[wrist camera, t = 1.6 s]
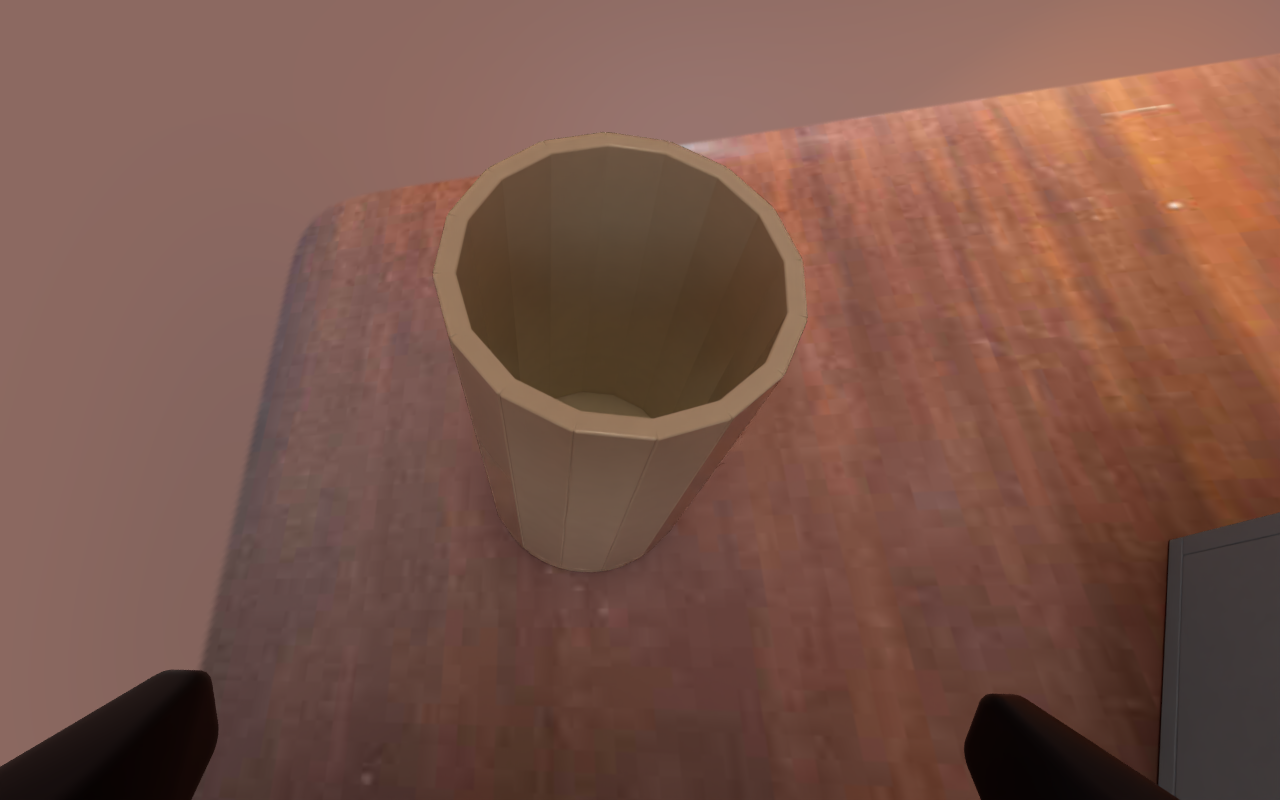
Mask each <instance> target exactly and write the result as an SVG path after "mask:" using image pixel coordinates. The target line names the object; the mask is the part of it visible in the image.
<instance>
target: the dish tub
mask: <svg viewBox="0 0 1280 800" xmlns="http://www.w3.org/2000/svg"><path fill="white" fill-rule="evenodd" d="M1158 786H1160V787H1161V788H1163V789H1164V790H1166V791H1168V792H1169V793H1171V794H1172V795H1174V796H1175V797H1177V798H1178V799H1180V800H1280V513H1276V514H1272V515H1268V516H1264V517H1260V518H1256V519H1252V520H1248V521H1244V522H1240V523H1236V524H1232V525H1228V526H1224V527H1220V528H1216V529H1212V530H1208V531H1204V532H1200V533H1196V534H1192V535H1188V536H1185V537H1181V538H1177V539H1173V540H1170V542H1169V563H1168V585H1167V607H1166V629H1165V650H1164V672H1163V694H1162V716H1161V737H1160V759H1159V781H1158Z"/></svg>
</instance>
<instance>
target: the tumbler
mask: <svg viewBox="0 0 1280 800" xmlns="http://www.w3.org/2000/svg"><path fill="white" fill-rule="evenodd" d="M433 280H434V283H435V287H436V291H437V295H438V299H439V303H440V306H441V310H442V314H443V318H444V322H445V326H446V329H447V333H448V337H449V341H450V344H451V348H452V351H453V355H454V359H455V362H456V366H457V369H458V373H459V377H460V380H461V384H462V387H463V391H464V394H465V398H466V402H467V405H468V409H469V412H470V416H471V420H472V423H473V427H474V430H475V434H476V437H477V441H478V445H479V448H480V452H481V455H482V459H483V463H484V466H485V470H486V473H487V477H488V481H489V484H490V488H491V491H492V495H493V498H494V502H495V506H496V509H497V513H498V516H499V518H500V519H501V520H502V522H503V523H504V525H505V527H506V528H507V530H508V531H509V533H510V534H511V536H512V537H513V538H514V539H515V540H516V541H517V542H518V543H519V544H520V546H522V547H523V548H524V549H525V550H526V551H528V552H529V553H530V554H531V555H533V556H535V557H536V558H538V559H540V560H541V561H543V562H545V563H548V564H550V565H552V566H555V567H558V568H562V569H565V570H570V571H577V572H600V571H608V570H611V569H615V568H619V567H622V566H624V565H627V564H629V563H631V562H633V561H635V560H637V559H639V558H640V557H642V556H644V555H645V554H646V553H647V552H649V551H650V550H651V549H653V548H654V547H655V546H656V545H657V544H658V543H659V542H660V540H661V539H662V538H663V537H664V536H666V535H667V534H668V533H669V532H670V531H671V529H672V528H673V526H674V525H675V524H676V522H677V521H678V520H679V518H680V517H681V516H682V514H683V513H684V511H685V510H686V509H687V507H688V506H689V505H690V503H691V502H692V501H693V499H694V498H695V496H696V495H697V494H698V492H699V491H700V490H701V488H702V487H703V486H704V484H705V483H706V481H707V480H708V479H709V477H710V476H711V475H712V473H713V472H714V470H715V469H716V468H717V466H718V465H719V464H720V462H721V461H722V460H723V458H724V457H725V455H726V454H727V453H728V451H729V450H730V449H731V447H732V446H733V445H734V443H735V442H736V440H737V439H738V438H739V436H740V435H741V434H742V432H743V431H744V430H745V428H746V427H747V425H748V424H749V423H750V421H751V420H752V419H753V417H754V416H755V415H756V413H757V412H758V410H759V409H760V408H761V406H762V405H763V404H764V402H765V401H766V400H767V398H768V397H769V395H770V394H771V393H772V391H773V390H774V389H775V387H776V386H777V385H778V383H779V382H780V380H781V379H782V378H783V376H784V375H785V373H786V371H787V369H788V366H789V364H790V361H791V359H792V357H793V354H794V352H795V349H796V347H797V345H798V342H799V340H800V337H801V335H802V333H803V330H804V328H805V325H806V323H807V318H808V315H807V303H806V291H805V279H804V267H803V261H802V258H801V256H800V254H799V252H798V251H797V249H796V247H795V245H794V243H793V241H792V240H791V238H790V236H789V234H788V232H787V231H786V229H785V227H784V225H783V223H782V221H781V220H780V218H779V216H778V214H777V212H776V211H775V209H773V207H772V206H771V205H770V204H769V203H768V202H767V201H765V200H764V199H763V198H762V197H761V196H760V195H759V194H757V193H756V192H755V191H754V190H753V189H752V188H751V187H749V186H748V185H747V184H746V183H745V182H744V181H743V180H741V179H740V178H739V177H738V176H737V175H736V174H735V173H734V172H732V171H731V170H730V169H728V168H727V167H726V166H723V165H721V164H719V163H717V162H715V161H712V160H710V159H708V158H706V157H704V156H701V155H699V154H697V153H695V152H692V151H690V150H688V149H686V148H684V147H681V146H679V145H677V144H675V143H672V142H668V141H665V140H658V139H651V138H644V137H637V136H631V135H624V134H617V133H610V132H606V133H605V132H601V133H593V134H586V135H580V136H572V137H565V138H558V139H551V140H545V141H543V142H539V143H537V144H535V145H533V146H531V147H529V148H527V149H525V150H523V151H521V152H519V153H517V154H515V155H513V156H511V157H509V158H507V159H505V160H503V161H501V162H499V163H497V164H495V165H493V166H491V167H489V168H488V169H487V170H485V171H484V172H483V173H482V175H481V176H480V177H479V178H478V179H477V180H476V181H475V183H474V184H473V185H472V186H471V187H470V188H469V190H468V191H467V192H466V193H465V194H464V195H463V196H462V198H461V199H460V200H459V201H458V202H457V203H456V205H455V206H454V207H453V208H452V209H451V210H450V212H449V213H448V215H447V217H446V221H445V225H444V229H443V233H442V237H441V241H440V245H439V249H438V253H437V257H436V261H435V265H434V269H433Z"/></svg>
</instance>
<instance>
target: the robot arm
mask: <svg viewBox="0 0 1280 800" xmlns="http://www.w3.org/2000/svg"><path fill="white" fill-rule="evenodd" d="M217 739H218V720H217V713H216V706H215V699H214V692H213V685H212V681H211V677H210V676H209V675H208V673H206V672H204V671H199V670H167V671H163V672H161V673H159V674H157V675H155V676H153V677H151V678H150V679H148V680H146V681H145V682H143V683H141V684H139V685H138V686H136V687H134V688H133V689H131V690H130V691H128V692H126V693H124V694H123V695H121V696H119V697H118V698H116V699H114V700H112V701H111V702H109V703H107V704H106V705H104V706H102V707H101V708H99V709H97V710H96V711H94V712H92V713H91V714H89V715H87V716H85V717H84V718H82V719H80V720H79V721H77V722H75V723H74V724H72V725H70V726H68V727H67V728H65V729H64V730H62V731H60V732H58V733H57V734H55V735H53V736H52V737H50V738H48V739H47V740H45V741H43V742H41V743H40V744H38V745H36V746H35V747H33V748H31V749H30V750H28V751H26V752H24V753H23V754H21V755H19V756H18V757H16V758H15V759H13V760H11V761H9V762H8V763H6V764H4V765H3V766H1V767H0V800H191V799H192V797H193V795H194V793H195V791H196V789H197V787H198V784H199V782H200V780H201V778H202V776H203V774H204V772H205V769H206V767H207V765H208V763H209V761H210V759H211V757H212V754H213V752H214V749H215V746H216V743H217ZM964 753H965V759H966V763H967V766H968V769H969V771H970V774H971V776H972V779H973V781H974V784H975V786H976V789H977V791H978V793H979V796H980V798H981V800H1180V799H1178V798H1177V797H1175V796H1174V795H1172V794H1171V793H1169V792H1168V791H1166V790H1164V789H1163V788H1161V787H1160V786H1158V785H1157V784H1155V783H1154V782H1152V781H1151V780H1149V779H1148V778H1146V777H1145V776H1143V775H1142V774H1140V773H1138V772H1137V771H1135V770H1134V769H1132V768H1131V767H1129V766H1128V765H1126V764H1125V763H1123V762H1122V761H1120V760H1119V759H1117V758H1116V757H1114V756H1112V755H1111V754H1109V753H1108V752H1106V751H1105V750H1103V749H1102V748H1100V747H1099V746H1097V745H1096V744H1094V743H1093V742H1091V741H1090V740H1088V739H1087V738H1085V737H1083V736H1082V735H1080V734H1079V733H1077V732H1076V731H1074V730H1073V729H1071V728H1070V727H1068V726H1067V725H1065V724H1064V723H1062V722H1061V721H1059V720H1057V719H1056V718H1054V717H1053V716H1051V715H1050V714H1048V713H1047V712H1045V711H1044V710H1042V709H1041V708H1039V707H1038V706H1036V705H1035V704H1033V703H1031V702H1030V701H1028V700H1027V699H1025V698H1023V697H1021V696H1019V695H1014V694H987V695H985V696H984V697H983V698H982V699H981V700H980V702H979V705H978V707H977V710H976V713H975V715H974V718H973V721H972V724H971V726H970V729H969V732H968V734H967V737H966V740H965V745H964Z"/></svg>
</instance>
